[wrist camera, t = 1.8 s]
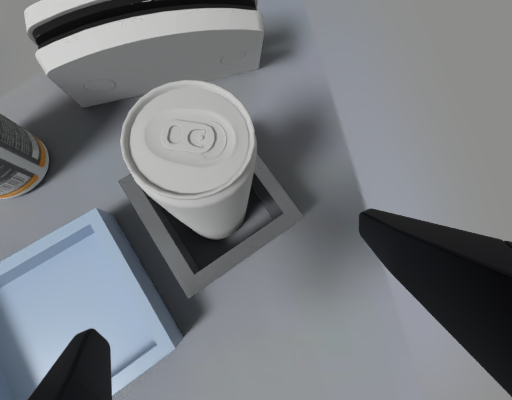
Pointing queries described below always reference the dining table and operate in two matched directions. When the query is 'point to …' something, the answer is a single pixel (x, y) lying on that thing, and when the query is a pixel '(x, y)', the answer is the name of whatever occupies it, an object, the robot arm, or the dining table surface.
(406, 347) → the dining table surface
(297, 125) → the dining table surface
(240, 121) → the beverage can
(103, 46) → the white black arched block
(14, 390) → the tray
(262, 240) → the short square tube
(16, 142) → the pill bottle
